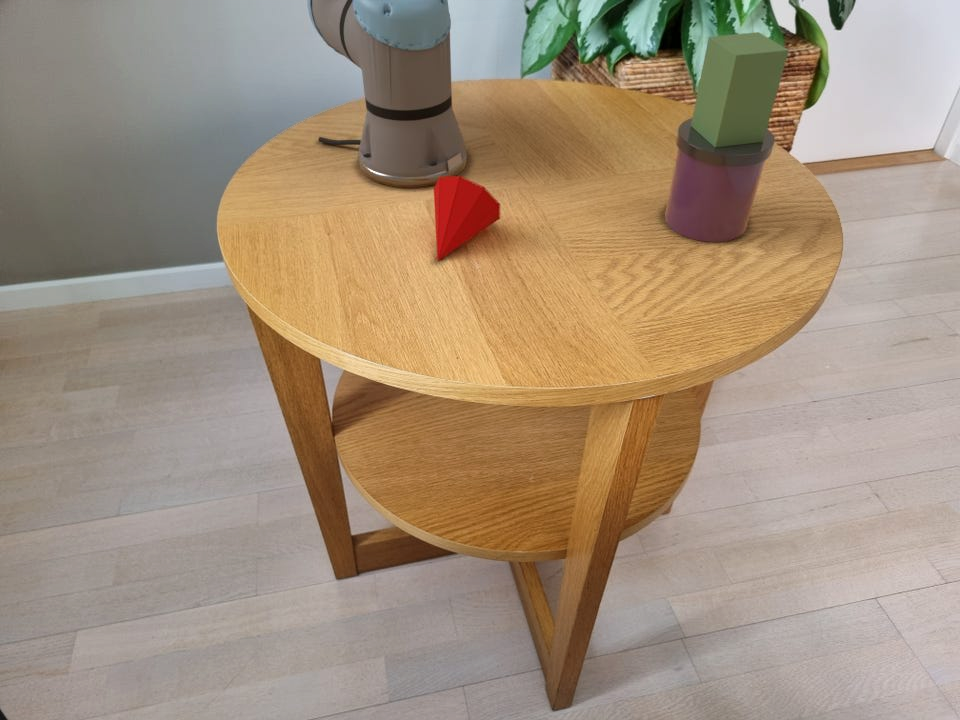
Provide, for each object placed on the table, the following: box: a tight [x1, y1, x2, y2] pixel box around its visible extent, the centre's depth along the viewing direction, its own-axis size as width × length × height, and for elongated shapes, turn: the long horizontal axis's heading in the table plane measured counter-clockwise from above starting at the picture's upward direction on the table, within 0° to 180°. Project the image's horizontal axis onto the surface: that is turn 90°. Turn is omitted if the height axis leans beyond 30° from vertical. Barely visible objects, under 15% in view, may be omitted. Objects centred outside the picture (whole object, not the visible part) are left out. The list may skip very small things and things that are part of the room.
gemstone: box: [433, 175, 501, 262], centre depth 83 cm, size 9×9×10 cm
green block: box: [691, 31, 790, 148], centre depth 77 cm, size 6×6×10 cm
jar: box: [664, 117, 776, 243], centre depth 84 cm, size 11×11×11 cm
